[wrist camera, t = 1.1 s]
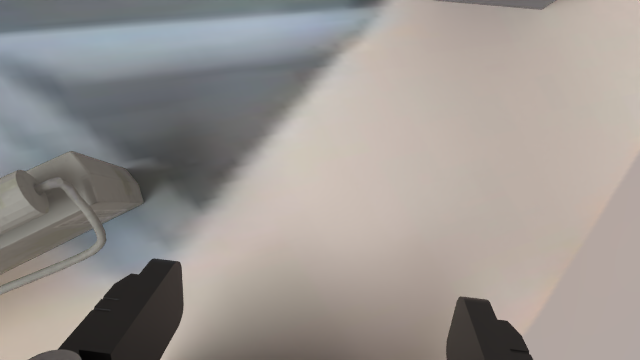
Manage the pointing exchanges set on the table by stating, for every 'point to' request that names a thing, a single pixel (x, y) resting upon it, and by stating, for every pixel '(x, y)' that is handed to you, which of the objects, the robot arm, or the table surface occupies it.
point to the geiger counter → (59, 209)
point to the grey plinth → (510, 3)
